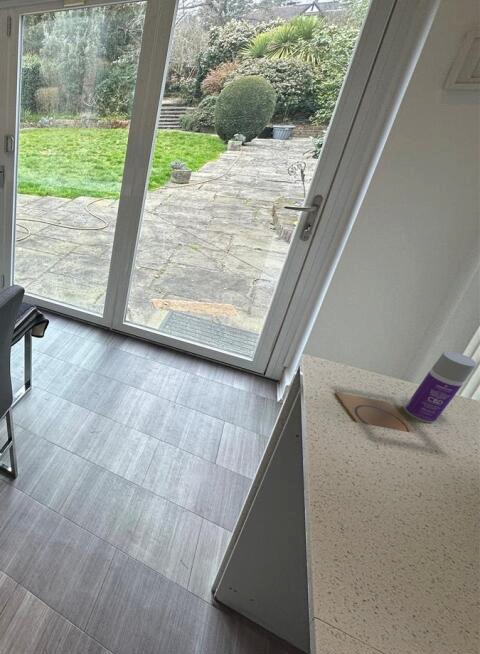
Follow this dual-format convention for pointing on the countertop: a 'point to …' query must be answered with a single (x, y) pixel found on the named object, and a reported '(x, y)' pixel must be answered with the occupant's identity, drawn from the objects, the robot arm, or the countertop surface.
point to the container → (440, 386)
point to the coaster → (374, 412)
